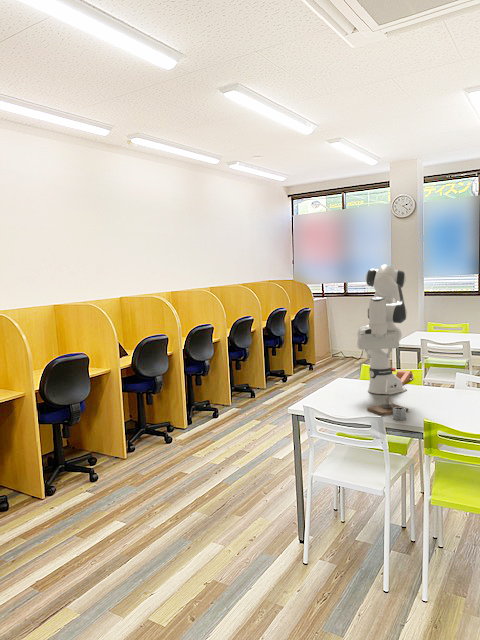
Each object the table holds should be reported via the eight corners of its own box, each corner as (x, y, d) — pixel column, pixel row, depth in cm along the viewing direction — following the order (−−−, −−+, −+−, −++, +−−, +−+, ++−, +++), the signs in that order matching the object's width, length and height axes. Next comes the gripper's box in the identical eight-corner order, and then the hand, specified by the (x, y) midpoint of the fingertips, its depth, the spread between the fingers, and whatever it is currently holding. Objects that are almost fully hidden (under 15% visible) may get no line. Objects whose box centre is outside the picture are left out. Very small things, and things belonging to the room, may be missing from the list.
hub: (400, 416, 237) (400, 406, 236) (408, 419, 231) (407, 409, 231) (390, 418, 235) (390, 408, 234) (398, 421, 229) (398, 410, 229)
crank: (400, 381, 316) (400, 369, 315) (412, 382, 311) (412, 370, 310) (390, 387, 300) (389, 374, 299) (403, 388, 295) (402, 375, 294)
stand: (392, 406, 256) (392, 392, 255) (408, 411, 245) (407, 396, 244) (367, 410, 250) (366, 396, 250) (382, 415, 239) (381, 400, 238)
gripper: (396, 329, 244) (396, 356, 244) (356, 330, 243) (356, 357, 244) (401, 329, 237) (401, 358, 238) (359, 331, 237) (360, 359, 238)
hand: (378, 357), depth 241 cm, fingers open, 8 cm apart
